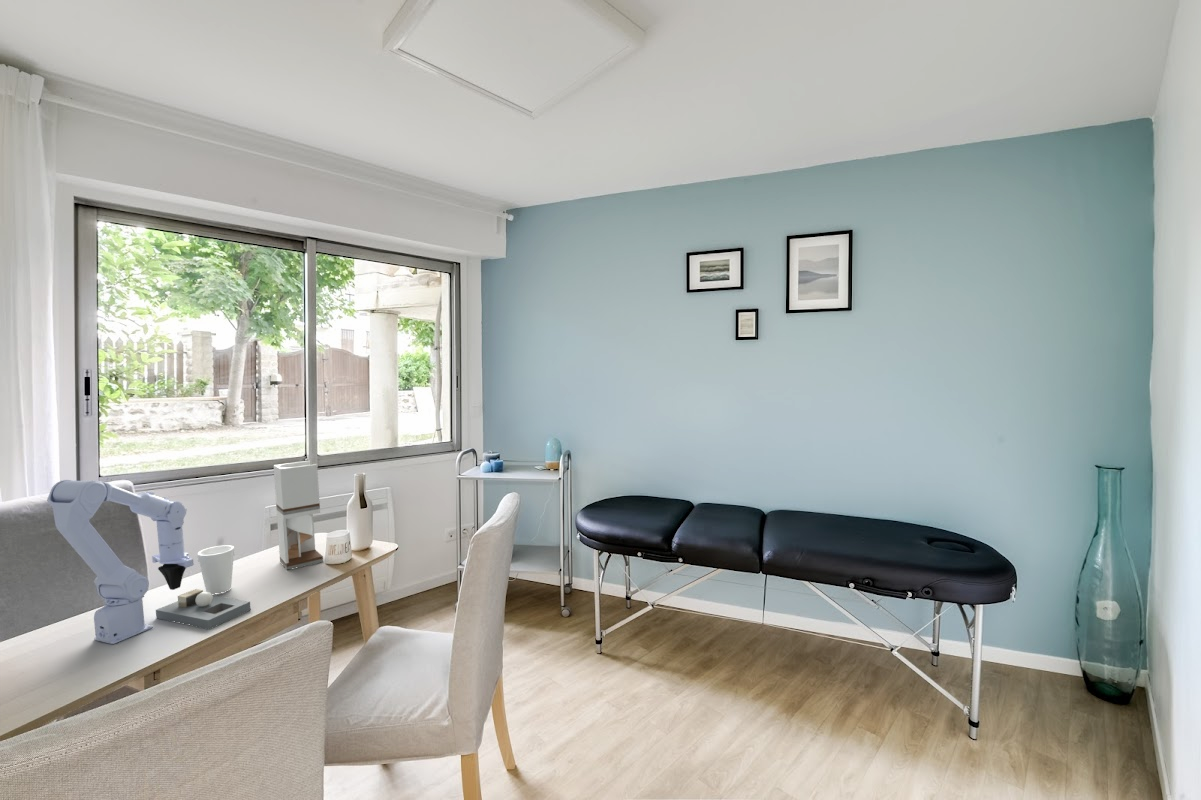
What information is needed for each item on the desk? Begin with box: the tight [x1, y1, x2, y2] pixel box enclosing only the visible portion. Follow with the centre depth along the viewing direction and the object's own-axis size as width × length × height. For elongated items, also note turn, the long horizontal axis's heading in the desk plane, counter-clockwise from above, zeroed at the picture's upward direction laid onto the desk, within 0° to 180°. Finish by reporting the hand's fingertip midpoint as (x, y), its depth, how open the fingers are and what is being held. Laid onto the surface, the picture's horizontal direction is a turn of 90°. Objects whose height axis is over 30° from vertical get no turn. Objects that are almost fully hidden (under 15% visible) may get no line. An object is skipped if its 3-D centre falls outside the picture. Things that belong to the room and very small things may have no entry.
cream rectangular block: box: [177, 588, 204, 608], centre depth 160 cm, size 5×3×3 cm
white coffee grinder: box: [273, 460, 324, 570], centre depth 197 cm, size 11×11×35 cm
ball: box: [195, 591, 213, 607], centre depth 158 cm, size 4×4×4 cm
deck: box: [155, 595, 251, 630], centre depth 158 cm, size 12×21×2 cm, turn 70°
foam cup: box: [197, 544, 235, 594], centre depth 174 cm, size 10×9×13 cm
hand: (175, 588), depth 162 cm, fingers closed
